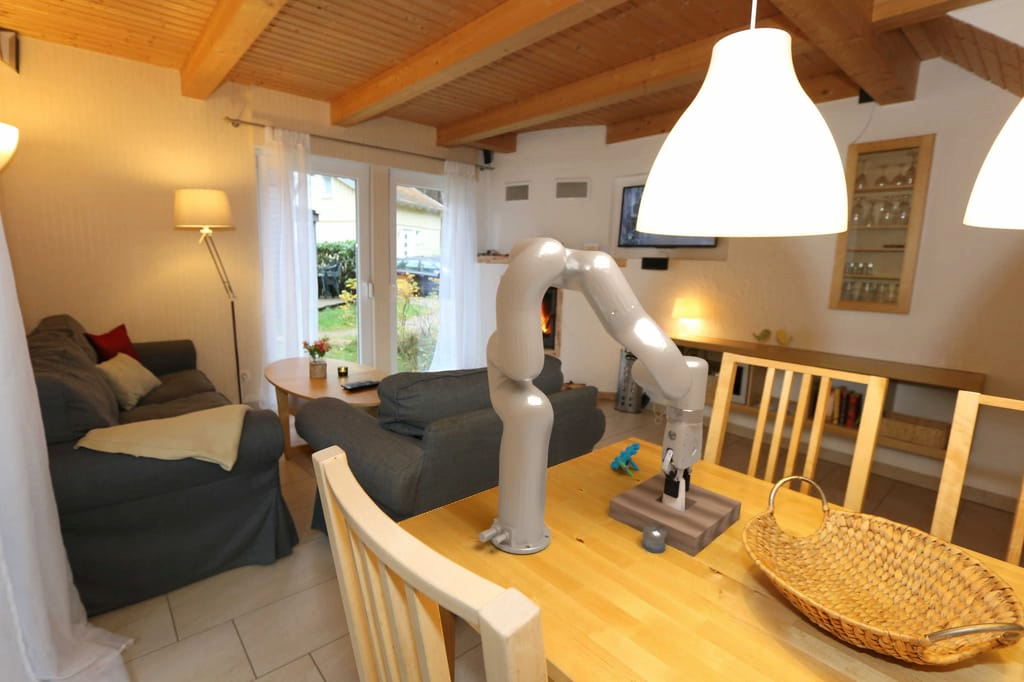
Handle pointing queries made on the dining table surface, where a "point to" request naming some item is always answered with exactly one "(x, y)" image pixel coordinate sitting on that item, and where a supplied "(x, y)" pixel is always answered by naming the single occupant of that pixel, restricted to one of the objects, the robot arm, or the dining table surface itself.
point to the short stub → (654, 538)
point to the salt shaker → (680, 501)
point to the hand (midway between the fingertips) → (676, 491)
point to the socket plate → (677, 513)
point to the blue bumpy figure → (626, 458)
